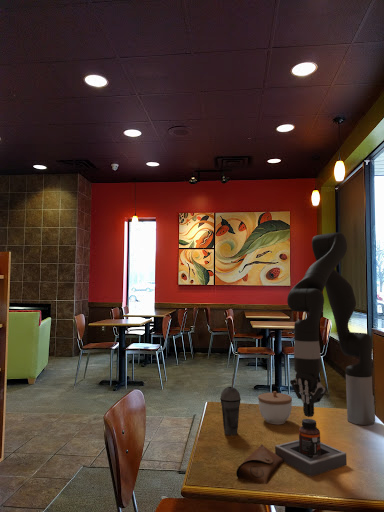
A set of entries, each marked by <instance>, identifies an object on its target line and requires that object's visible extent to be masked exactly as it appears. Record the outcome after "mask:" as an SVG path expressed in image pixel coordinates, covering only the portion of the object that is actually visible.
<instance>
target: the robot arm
mask: <svg viewBox="0 0 384 512" xmlns="http://www.w3.org/2000/svg"><path fill="white" fill-rule="evenodd" d="M311 247H312V248H311V249H312V252H313V256H314V258H315V261H314V262H313V263H312V264H311V265H310V266H309V268H307V270H306V271H305V274H304V276H303V278H302V279H301V280H299V282H297V283H296V284H295V285H294V286H293V287H292V288H291V289H290V291H289V292H288V294H287V299H286V303H287V306H288V308H289V309H290V310H291V311H292V312H296V313H298V312H299V313H309V315H308V317H307V318H305V319H299V320H296V321H294V325H293V329H294V334H293V335H294V344H293V345H294V346H293V363H294V365H293V366H294V371H295V372H296V373H295V378H294V379H291V380H290V381H289V382H290V384H291V388H292V389H293V392H294V393H295V395H296V397H297V399H299V400H301V402H302V404H303V407H302V409H303V414H304V417H307V418H312V417H314V415H315V403H319V402H320V401H321V400H322V399H323V397H324V395H326V393H327V392H328V388H327V386H324V385H323V384H322V383H321V381H322V380H321V377H320V373H321V372H322V367H321V365H322V364H321V346H320V337H319V336H320V334H319V333H320V332H319V331H320V330H319V329H320V328H319V326H320V321H321V316H322V313H323V308H324V303H325V297H324V294H323V291H324V289H325V292H326V296H327V299H328V302H329V306H330V309H331V312H332V315H333V319H334V322H335V327H336V332H337V339H338V342H339V343H338V344H339V348H340V351H341V352H342V353H343V355H345V356H347V357H353V358H354V357H355V358H359V360H358V361H359V362H357V363H354V364H350V365H348V366H347V365H346V367H345V390H346V391H345V393H346V414H347V415H346V417H347V418H346V419H347V422H349V423H351V424H356V425H360V426H372V425H374V423H375V422H376V410H375V409H376V408H375V407H376V406H375V396H374V395H373V377H372V376H373V375H372V369H373V341H372V340H373V339H372V337H371V335H370V334H369V333H366V332H365V333H364V332H352V331H350V329H349V322H350V320H351V317H352V316H353V313H354V312H355V310H356V306H357V301H356V296H355V293H354V292H355V291H354V289H353V287H352V284H351V283H350V282H348V280H346V278H344V277H343V276H342V275H341V274H340V273H339V272H338V271H337V270H336V267H337V266H338V265H339V264H340V262H341V261H342V260H343V258H344V257H345V255H346V253H347V250H348V242H347V239H346V237H345V235H344V234H343V233H342V232H329V233H323V234H318V235H314V236H313V237H312V239H311Z"/></svg>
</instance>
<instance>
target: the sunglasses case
mask: <svg viewBox="0 0 384 512" xmlns="http://www.w3.org/2000/svg"><path fill="white" fill-rule="evenodd" d="M283 463H285V462H284V460H283V458H281V457H279V456H278V455H276V454H275V452H273V451H272V450H270V449H268V448H267V447H266V446H264V444H260V445H259V447H258V448H257V449H255V450H254V451H253V452H252V453H251V454H250V455H248V457H247V458H246V459H245V460H244V461H243V462H241V464H240V465H239V466H238V468H237V469H236V477H237V479H238V480H239V479H240V480H243V481H248V482H251V483H256V484H261V483H262V485H265V484H266V485H267V484H268V483H269V480H270V478H271V477H272V475H273V474H274V473H275V472H276V471H277V469H278V468H279V467H280V466H281V465H282V464H283Z"/></svg>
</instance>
